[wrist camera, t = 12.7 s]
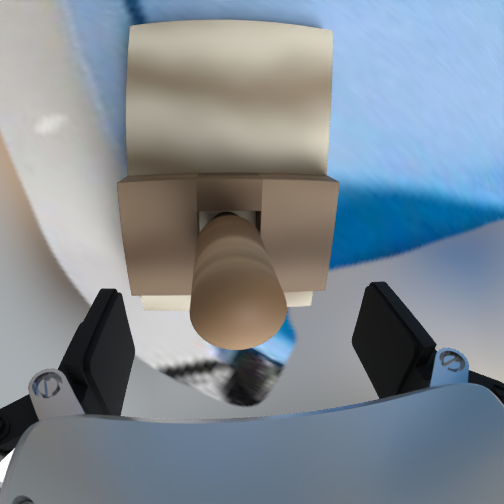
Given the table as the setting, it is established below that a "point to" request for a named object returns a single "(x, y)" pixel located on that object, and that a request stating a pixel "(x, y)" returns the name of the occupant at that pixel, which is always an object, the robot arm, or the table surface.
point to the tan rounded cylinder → (234, 286)
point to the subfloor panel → (227, 150)
